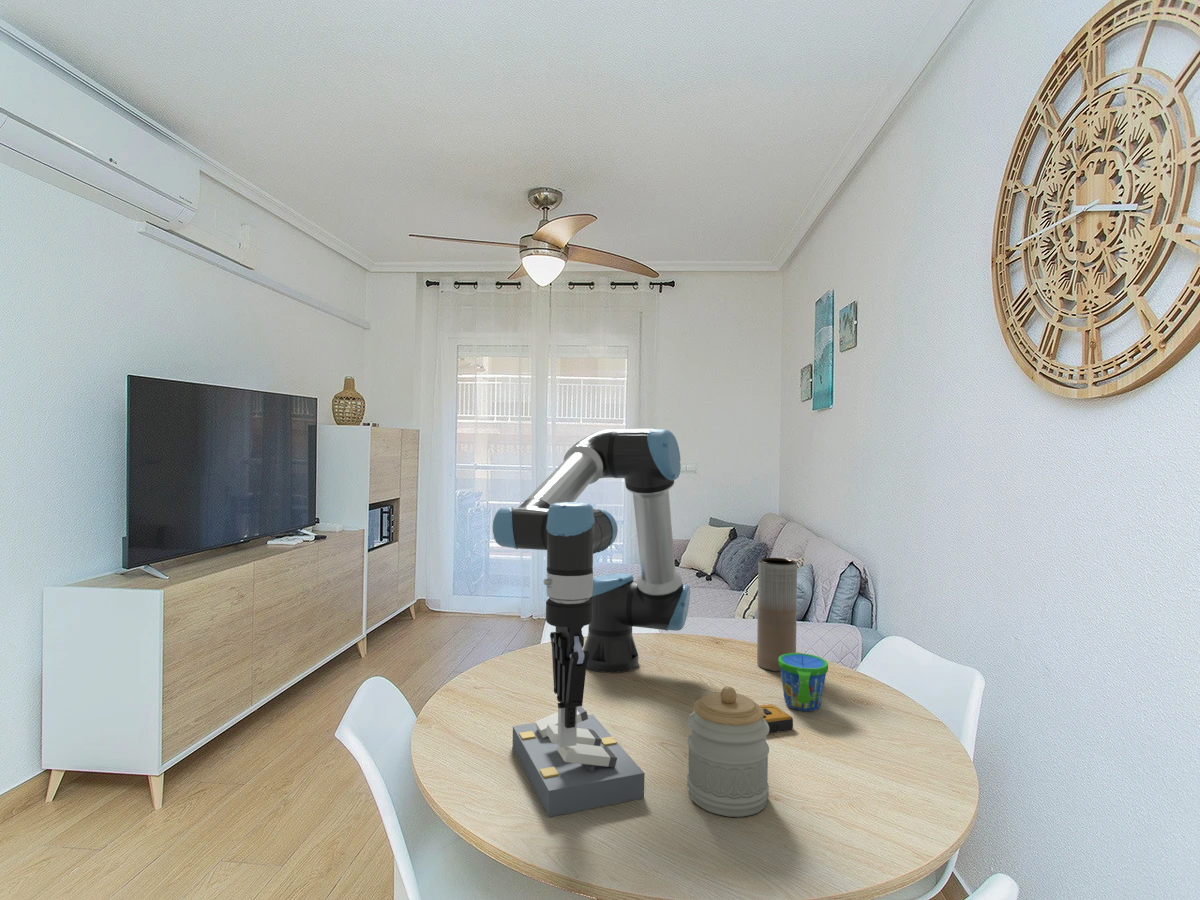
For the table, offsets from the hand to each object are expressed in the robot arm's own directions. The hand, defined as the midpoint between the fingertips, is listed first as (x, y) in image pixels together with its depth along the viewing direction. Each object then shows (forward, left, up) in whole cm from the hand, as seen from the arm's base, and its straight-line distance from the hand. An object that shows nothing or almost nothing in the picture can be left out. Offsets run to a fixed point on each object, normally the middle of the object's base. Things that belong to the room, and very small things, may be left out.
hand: (567, 744), depth 101 cm
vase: (-41, +72, -8) cm, 83 cm away
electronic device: (-12, +44, -9) cm, 46 cm away
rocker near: (0, +4, -2) cm, 4 cm away
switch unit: (-7, +4, -8) cm, 11 cm away
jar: (+9, +25, -9) cm, 27 cm away
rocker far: (-14, +4, -2) cm, 15 cm away
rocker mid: (-7, +4, -2) cm, 8 cm away
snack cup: (-17, +61, -9) cm, 63 cm away
